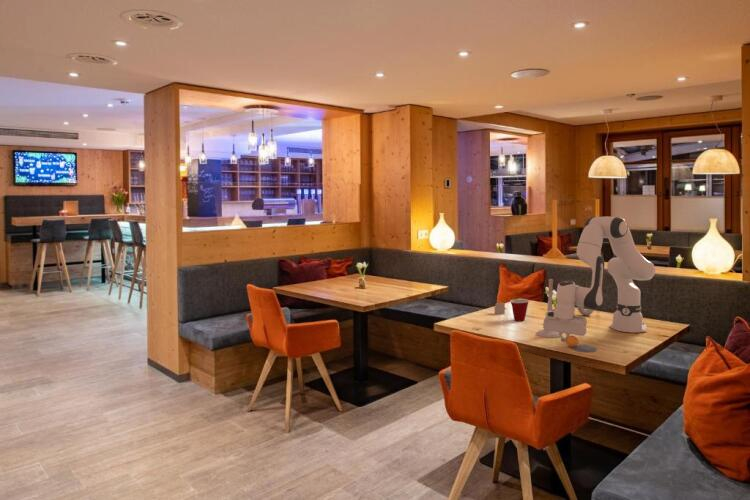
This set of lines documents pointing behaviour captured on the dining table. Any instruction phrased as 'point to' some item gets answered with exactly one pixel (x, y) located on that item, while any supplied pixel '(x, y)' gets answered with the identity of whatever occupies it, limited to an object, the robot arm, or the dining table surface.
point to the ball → (572, 341)
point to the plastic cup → (519, 309)
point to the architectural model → (500, 308)
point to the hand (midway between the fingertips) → (563, 341)
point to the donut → (585, 311)
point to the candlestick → (545, 332)
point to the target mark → (584, 348)
